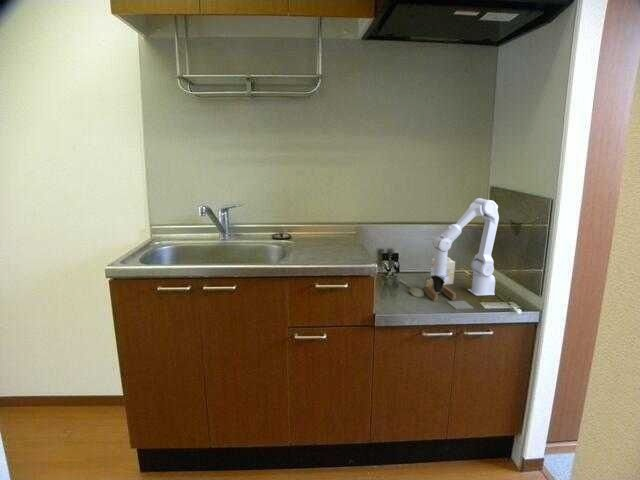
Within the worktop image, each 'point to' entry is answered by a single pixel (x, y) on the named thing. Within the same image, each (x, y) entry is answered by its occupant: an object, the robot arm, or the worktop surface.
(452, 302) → the gray mat
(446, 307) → the worktop surface
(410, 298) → the worktop surface
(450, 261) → the ink box
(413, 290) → the soupspoon
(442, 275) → the robot arm
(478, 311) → the worktop surface
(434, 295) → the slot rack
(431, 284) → the maple block
